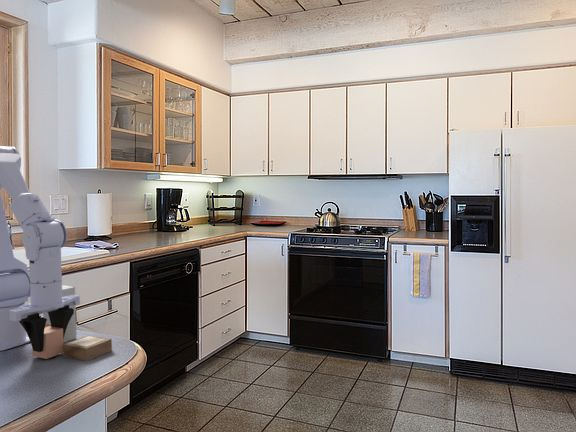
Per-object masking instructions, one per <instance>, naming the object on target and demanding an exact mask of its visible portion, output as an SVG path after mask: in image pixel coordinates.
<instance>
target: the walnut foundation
mask: <svg viewBox="0 0 576 432" xmlns="http://www.w3.org/2000/svg"><path fill="white" fill-rule="evenodd" d="M112 343H113V342H112V338H110V337H109V338H107V337H102V336H95V335H89V334H88V335H86V336H82V337H80V338H76V339H73V340H70V341H67V342H65V343H63V353H62V354H63V355H62V356H63V357H64V358H69V359H74V360H75V359H76V360H78V361H79V360H80V361H86V362H88V361H91V360H92V359H95V358H97V357H100V356H102V355H104V354H107V353H109V352H112V351H113V347H112V345H113V344H112ZM90 359H91V360H90Z"/></svg>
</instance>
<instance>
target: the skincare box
mask: <svg viewBox="0 0 576 432" xmlns="http://www.w3.org/2000/svg"><path fill="white" fill-rule="evenodd" d="M70 295H76V287H75V286H69V285H63V284H62V297H65V296H70ZM76 306H77V305H72V306H69V308H73V309H74V314H73V315H72V317H71V319H70V321H69V323H68V326H67V328H66V332H65V335H64V340H63V343H67V342H70V341H73V340H76V339H77V315H76V314H77V313H76V311H77V310H76V309H77V308H76ZM42 314H43V315H42V318H46V319H47V321H46V324H45V327H49V326H51V322H50V318H49V315H48V312H46V313H42ZM75 338H76V339H75ZM72 339H73V340H72ZM69 340H70V341H69Z"/></svg>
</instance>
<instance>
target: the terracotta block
mask: <svg viewBox="0 0 576 432" xmlns="http://www.w3.org/2000/svg"><path fill="white" fill-rule="evenodd" d="M63 344H64V342H63V328H57V327H51V326H49V327H45V329H44V347H43V351H41V352H37V351H33V349H32V348H31V349H32V353H31V354H32V357H36V358H38V359H39V358H40V359H46V360H47V359H50V358H53V357H56V356H59V355H61V354H63Z"/></svg>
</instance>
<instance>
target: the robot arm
mask: <svg viewBox="0 0 576 432" xmlns="http://www.w3.org/2000/svg"><path fill="white" fill-rule="evenodd" d="M21 167H22V157H21V154H20V152H19V151H18V149H17V148H16V147H15V146H0V191H2V188H3V189H4V190H5V191H6V193H7V194H8V196H9V197H10V198H11V199H12V202H11V204H10V210H11V212H12V213H13V215H14V217H15V219H16V221H17V222H18V224H19V226H20V228H21V229H22V235H21V241H22V245H23V247H24V251H25V258H26V260H28V263H29V264H28V265H27V264H26V263H25V262H23V261H21V260H20V259H17V258H16V257H15V256H14V250H13V246H12V242H11V237H10V233H9V231H10V230H9V227H8V222H7V216H6V212H5V208H4V204H3V199H2V194H1V192H0V352H2V351H3V352H4V351H6V350H8V349H12V348H15V347H19V346H21V345H25V344H28V343H30V344H31V349H33V351H37V352H41V351H43V347H44V329H45V324H46V321H47V319H46V318H43V317H42V314H43V313H46V312H48V315H49V318H50V322H51V327H57V328H63V340H64V335H65V332H66V328H67V326H68V323H69V321H70V319H71V317H72V315H73V314H74V309H73V308H69V306H72V305H75V306H79V305H80V304H81V301H80V300H81V299H80V297H81V296H80V295H77V294H75V295H70V296H65V297H62V285H63V279H62V278H63V276H62V275H63V274H62V248H64V247H65V245H66V243H67V240H68V233H67V232H68V231H67V228H66V226H65V223H64V222H63V221H61V220H60V219H56V217H52V215H51V213H50V212H49V210H48V209H47V207H46V206H45V204H44V202H43V201H42V199H41V198H40V196H39V195H38V194H36V193H31V191H30V190H29V187H28V185H27V183H26V181H25V178H24V176H23V175H22V172H21ZM28 267H29V268H28ZM29 298H30V299H29ZM29 300H30V303H28V302H29ZM26 303H28V304H26Z"/></svg>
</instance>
